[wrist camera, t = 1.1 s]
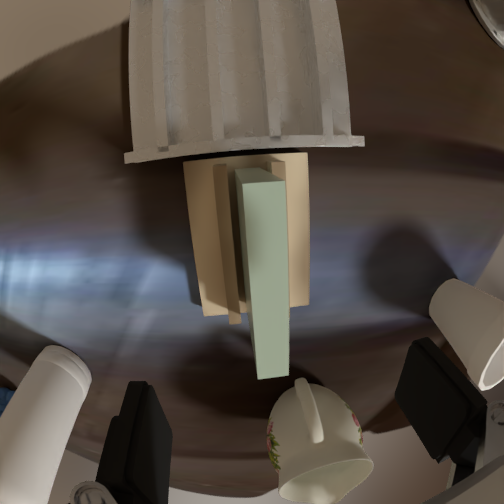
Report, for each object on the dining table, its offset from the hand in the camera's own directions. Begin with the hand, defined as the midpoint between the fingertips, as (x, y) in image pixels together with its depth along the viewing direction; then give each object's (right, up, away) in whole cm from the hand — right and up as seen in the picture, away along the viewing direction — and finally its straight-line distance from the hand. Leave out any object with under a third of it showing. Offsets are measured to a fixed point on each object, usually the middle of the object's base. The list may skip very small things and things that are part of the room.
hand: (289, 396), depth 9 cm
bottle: (-25, -10, +21) cm, 34 cm away
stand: (-1, +7, +17) cm, 18 cm away
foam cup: (+24, -1, +23) cm, 33 cm away
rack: (-3, +21, +11) cm, 24 cm away
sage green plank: (-1, +6, +16) cm, 17 cm away
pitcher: (+5, -13, +25) cm, 29 cm away
